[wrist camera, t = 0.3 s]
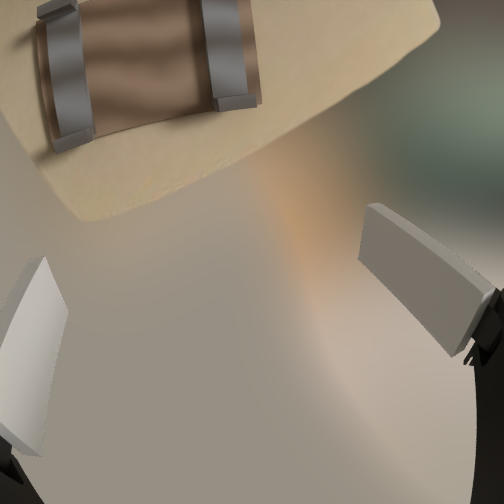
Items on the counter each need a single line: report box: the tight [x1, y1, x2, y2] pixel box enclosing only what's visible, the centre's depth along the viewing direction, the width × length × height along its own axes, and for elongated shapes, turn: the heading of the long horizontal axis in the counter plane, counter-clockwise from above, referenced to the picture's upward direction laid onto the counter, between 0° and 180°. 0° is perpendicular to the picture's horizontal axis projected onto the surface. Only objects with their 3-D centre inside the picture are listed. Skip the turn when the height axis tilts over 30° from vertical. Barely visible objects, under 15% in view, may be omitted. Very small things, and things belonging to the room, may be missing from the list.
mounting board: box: [36, 0, 262, 154], centre depth 25 cm, size 18×26×6 cm
